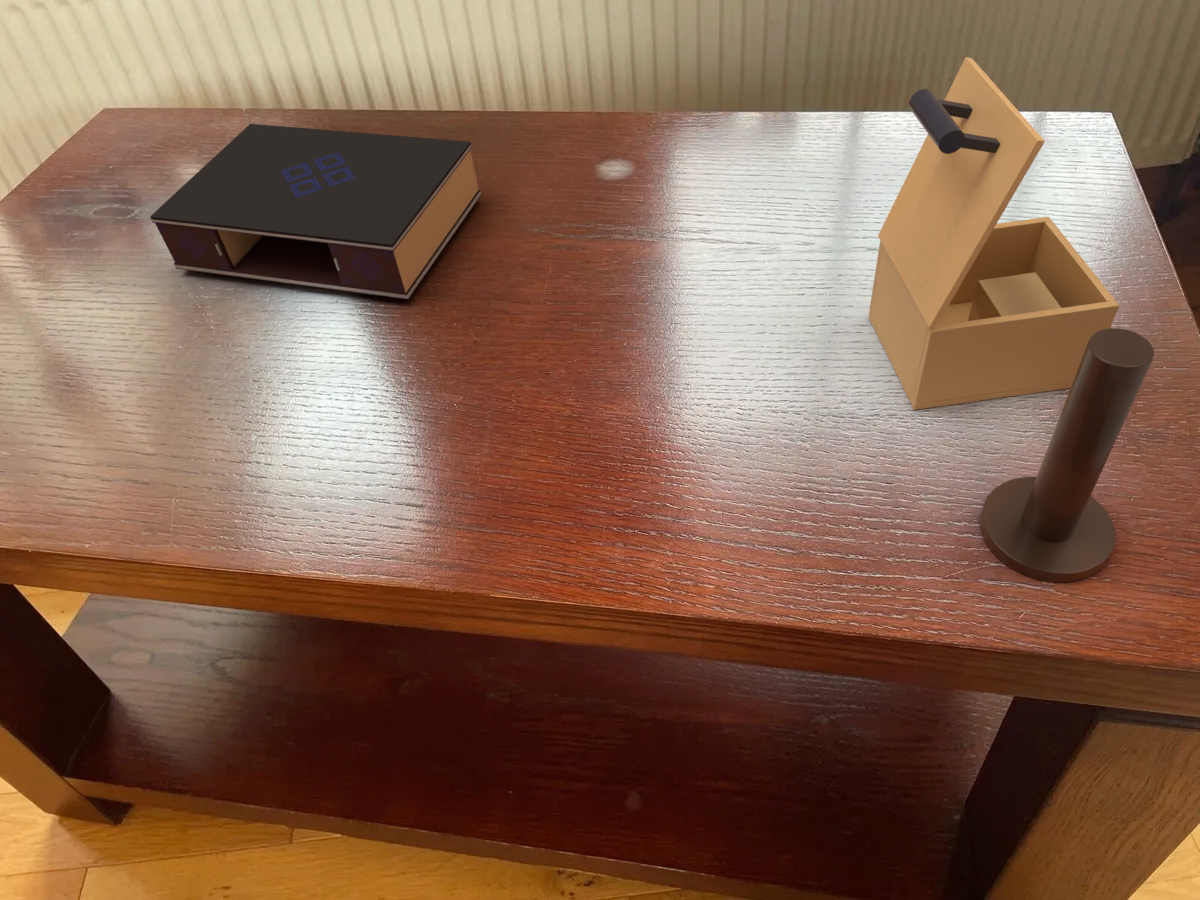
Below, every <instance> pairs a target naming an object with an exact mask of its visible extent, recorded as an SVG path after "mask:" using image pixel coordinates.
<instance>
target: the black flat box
mask: <svg viewBox="0 0 1200 900" xmlns="http://www.w3.org/2000/svg"><path fill="white" fill-rule="evenodd" d="M472 148H473V146H472V143H471V141H468V140H467V141H466V140H458V139H457V140H454V139H443V138H431V137H420V136H419V137H418V136H406V135H394V134H382V133H381V134H380V133H369V132H357V131H347V130H346V131H344V130H332V129H320V128H310V127H309V128H307V127H297V126H285V125H284V126H283V125H270V124H260V123H249V124H248V125H247V126H246V127H245V128H244V129H243V130H242V131H241V132H239V133H238V134H237V135H236V136H235V137H234V138H233V139H232V140H231V141H230V142H229V143H227V144H226V145H225V146H224V147H223V148H222V149H221V150H220V151H219V152H218V153H217V154H216V155H215V156H213V157H212V158H211V160H210V159H209V161H208V162H207V163H206V164H205V165H204V166H203V167H202V168H201V169H199V170H198V171H197V172H196V173H195V174H194V175H193V176H192V177H191V178H190V179H189V180H188V181H186V183H184V185H182V186H181V187H180V188H179V189H178V190H177V191H175V193H174V194H172V196H170V197H169V198H168V199H167V200H166V201H165V202H164V203H163V204H162V205H161V206H159V207H158V208H157V209H156V210H155V211H154V212H153V213H151V215H150V216H149V220H151V223H152V224H155V226H156V228H157V230H158V232H159V234H160V236H161V238H162V240H163V242H164V244H165V246H166V248H167V249H168V251H169V254H170V255H171V258H172V260H173V261H174V262H173V265H174V267H175V269H176V270H184V271H189V272H190V271H191V272H198V273H206V274H212V275H213V274H214V275H220V276H228V277H236V278H242V279H243V278H244V279H250V280H258V281H265V282H274V283H281V284H289V285H295V286H302V287H310V288H318V289H324V290H333V291H341V292H349V293H356V294H364V295H371V296H377V297H385V298H392V299H399V300H401V299H402V300H410V298H411V296H412V295H413V293H414V292H415V291H416V289H417V288H418V286H419V285H420V283H422V281H423V280H424V278H425V276H426V275H427V273H428V272H429V270H430V269H431V268H432V267H433V265H434V263H435V262H436V261H437V259H438V258H439V257H440V255H441V254H442V253H443V251H444V249H445V248H446V246H447V245H448V244H449V242H450V241H451V239H452V238H453V236H454V235H455V233H456V232H457V231H458V229H459V228H460V226H461V225H462V223H463V222H464V221H465V219H466V218H467V216H468V215H469V213H470V212H471V211H472V209H473V208H474V206H475V205H476V204H477V202H478V201H479V199H480V197H481V196H482V189H480V188H479V185H478V179H477V173H476V171H475V165H474V161H473V155H472V151H471V149H472Z"/></svg>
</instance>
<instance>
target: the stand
mask: <svg viewBox="0 0 1200 900" xmlns="http://www.w3.org/2000/svg"><path fill="white" fill-rule="evenodd" d="M1154 359H1155V349H1154V346H1153V344H1152V343H1151V342H1150V341H1149V340H1148V339H1147V338H1146V337H1144V336H1143V335H1141V334H1139V333H1137V332H1135V331H1132V330H1128V329H1124V328H1119V327H1118V328H1117V327H1114V328H1113V327H1111V328H1109V329H1103V330H1100V331H1098V332H1096V333H1094V334H1093V335H1092V336H1091V337H1090V339H1089V341H1088V344H1087V347H1086V349H1085V352H1084V354H1083V357H1082V360H1081V362H1080V365H1079V367H1078V370H1077V373H1076V375H1075V378H1074V380H1073V383H1072V386H1071V388H1069V390H1068V394H1067V396H1066V399H1065V402H1064V404H1063V407H1062V410H1061V412H1060V415H1059V416H1058V417H1059V418H1058V420H1057V423H1056V425H1055V427H1054V430H1053V433H1052V436H1051V438H1050V441H1049V444H1048V446H1047V448H1046V452H1045V454H1044V457H1043V459H1042V462H1041V464H1040V466H1039V470H1038V472H1037V474H1036V476H1022V477H1018V478H1017V477H1016V478H1013V479H1010V480H1007V481H1005V482H1003V483H1000V485H998V486H997V487H995V488H994V489H993V490H992V491H991V492H990V493H989V494H988V495H987V497H986V498H985V501H984V503H983V506H982V508H981V512H980V515H979V529H980V534H981V536H982V539H983V541H984V543H985V545H986V546H987V548H988V549H989V550H990V552H991V553H992V554H993V555H994V556H995V557H996V558H997V560H999V561H1000V562H1002V564H1004V565H1005V566H1006V567H1008V568H1010V569H1011V570H1013V571H1015V572H1016V573H1019V574H1021V575H1023V576H1026V577H1028V578H1032V579H1034V580H1037V581H1038V580H1039V581H1043V582H1049V583H1073V582H1078V581H1081V580H1083V579H1088V578H1089V577H1091V576H1093V575H1095V574H1096V573H1097V572H1099V571H1100V570H1101V569H1103V567H1104V566H1105V565H1106V563H1107V562H1108V560H1109V558H1110V556H1111V554H1112V553H1113V550H1114V548H1115V543H1116V530H1115V529H1116V528H1115V525H1114V522H1113V520H1112V519H1111V515H1110V514H1109V513H1108V511H1107V510H1106V508H1104V506H1103V505H1102V504H1101V503H1100V502H1099V501H1098V500H1097V499H1096V498H1094V497H1093V496H1092V493H1093V492H1094V489H1095V487H1096V485H1097V483H1098V482H1099V481H1098V480H1099V478H1100V476H1101V474H1102V472H1103V469H1104V467H1105V465H1106V463H1107V461H1108V459H1109V456H1110V455H1111V452H1112V450H1113V448H1114V446H1115V443H1116V441H1117V439H1118V437H1119V434H1120V433H1121V430H1122V428H1123V426H1124V424H1125V422H1126V419H1127V417H1128V415H1129V412H1131V411H1130V410H1131V409H1132V406H1133V404H1134V402H1135V399H1136V398H1137V395H1138V393H1139V391H1140V389H1141V387H1142V384H1143V382H1144V380H1145V378H1146V376H1147V373H1148V371H1149V369H1150V367H1151V365H1152V362H1153V361H1154Z"/></svg>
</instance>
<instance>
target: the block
mask: <svg viewBox="0 0 1200 900" xmlns="http://www.w3.org/2000/svg"><path fill="white" fill-rule="evenodd" d="M1058 308H1061V307H1060V305H1059V304H1058V302H1057V301H1056V300H1055V298H1054V297H1053V296H1052V294H1051V293H1050V291H1049V290H1048V289H1047V287H1046V286H1045V284H1044V283H1043V282H1042V280H1041V279H1040V278H1039V276H1038V275H1037V273H1028V274H1021V275H1013V276H1006V277H999V278H992V279H985V280H978V283H977V287H976V291H975V295H974V299H973V303H972V307H971V311H970V315H969V319H968V321H973V320H980V319H987V318H994V317H1001V316H1008V315H1015V314H1022V313H1030V312H1037V311H1044V310H1051V309H1058Z"/></svg>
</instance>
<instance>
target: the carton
mask: <svg viewBox="0 0 1200 900" xmlns="http://www.w3.org/2000/svg"><path fill="white" fill-rule="evenodd" d="M878 245H879V246H878V253H877V260H876V266H875V272H874V279H873V285H872V291H871V296H870V297H871V298H870V305H869V311H868V319H869V322H870V323H871V326H872V328H873V329H874V332H875V334H876V336H877V337H878V340H879V341H880V343H881V346H882V348H883V350H884V353H885V354H886V356H887V358H888V360H889V362H890V364H891V366H892V368H893V370H894V372H895V374H896V376H897V378H898V380H899V382H900V384H901V386H902V388H903V391H904V392H905V394H906V397H907V399H908V400H909V403H910V405H911V407H912V408H913V410H914V411H917V410H922V409H930V408H931V409H932V408H936V407H937V408H938V407H946V406H953V405H960V404H966V403H973V402H981V401H988V400H994V399H1001V398H1008V397H1009V398H1010V397H1014V396H1015V397H1016V396H1024V395H1031V394H1037V393H1038V394H1039V393H1043V392H1045V393H1046V392H1051V391H1058V390H1065V389H1066V390H1067V389H1070V388H1071V386H1072V383H1073V380H1074V378H1075V375H1076V373H1077V370H1078V367H1079V365H1080V362H1081V360H1082V357H1083V354H1084V352H1085V349H1086V347H1087V344H1088V341H1089V339H1090V337H1091V336H1092V335H1093V334H1094V333H1096V332H1098V331H1100V330H1103V329H1109V328H1112V325H1113V323H1114V320H1115V318H1116V316H1117V313H1118V311H1119V309H1120V308H1119V307H1120V303H1118V301H1117V300H1116V298H1115V297H1113V295H1112V294H1111V293H1110V291H1109V290H1108V288H1106V286H1105V285H1104V284H1103V283H1102V281H1101V280H1100V278H1099V277H1098V276H1097V275H1096V273H1094V271H1093V270H1092V269H1091V268H1090V266H1089V265H1088V264H1087V263H1086V261H1085V260H1084V258H1082V256H1081V254H1079V253H1078V251H1077V249H1076V248H1075V247H1073V245H1072V244H1071V242H1070V241H1069V239H1068V238H1066V236H1065V235H1064V234H1063V232H1062V231H1061V230H1060V228H1059V227H1058V226H1057V225H1056V224H1055V223H1054V221H1053V220H1052V219H1051V218H1050V216H1042V217H1036V218H1029V219H1021V220H1014V221H1008V222H1006V221H1005V222H1000V223H997V224H996V226H995V227H994V229H993V231H992V232H991V234H990V236H989V237H988V239H987V241H986V243H985V244H984V246H983V248H982V249H981V251H980V253H979V254H978V256H977V258H976V260H975V261H974V263H973V265H972V266H971V268H970V270H969V271H968V273H967V275H966V277H965V278H964V280H963V282H962V283H961V285H960V287H959V288H958V290H957V292H956V294H955V295H954V297H953V299H952V300H951V302H950V304H949V305H948V307H947V309H946V311H945V312H944V314H943V316H942V317H941V319H940V321H939V322H938V324H937V326H936V328H929V327H928V325H927V323H926V322H925V320H924V318H923V316H922V314H921V313H920V311H919V309H918V307H917V305H916V304H915V302H914V300H913V298H912V296H911V295H910V293H909V291H908V289H907V287H906V286H905V284H904V282H903V280H902V278H901V277H900V275H899V273H898V271H897V269H896V268H895V266H894V264H893V262H892V260H891V259H890V257H889V255H888V253H887V251H886V250H885V248H884V246H883V244H882V242H881V241H880V240H879V244H878ZM1028 273H1037V275H1038V276H1039V278H1040V279H1041V280H1042V282H1043V283H1044V284H1045V286H1046V287H1047V289H1048V290H1049V291H1050V293H1051V294H1052V296H1053V297H1054V298H1055V300H1056V301H1057V302H1058V304H1059V305H1060V307H1061V308H1058V309H1051V310H1044V311H1037V312H1030V313H1022V314H1015V315H1008V316H1001V317H994V318H987V319H980V320H973V321H968V319H969V315H970V311H971V307H972V303H973V299H974V295H975V291H976V287H977V283H978V280H985V279H992V278H999V277H1006V276H1013V275H1021V274H1028Z"/></svg>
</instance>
